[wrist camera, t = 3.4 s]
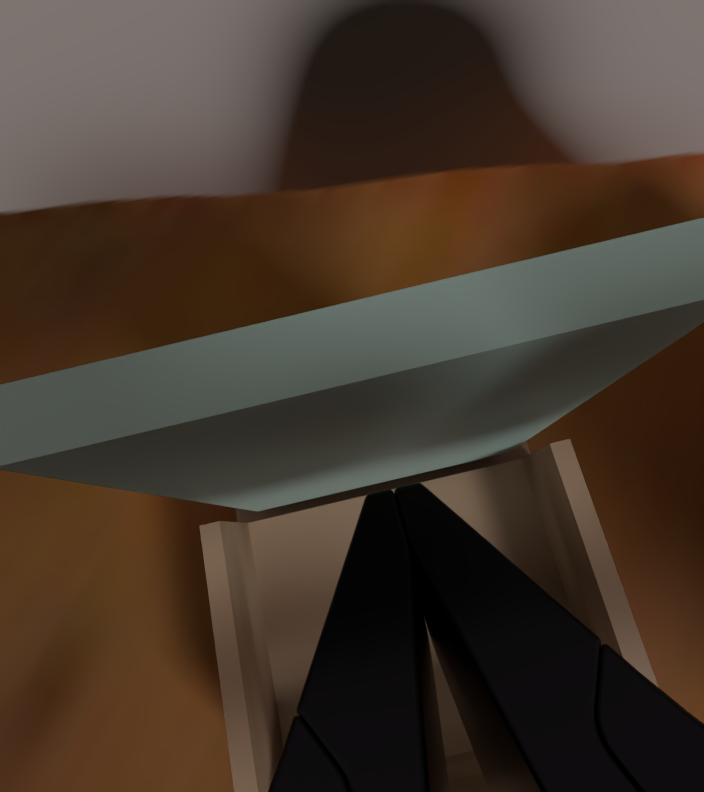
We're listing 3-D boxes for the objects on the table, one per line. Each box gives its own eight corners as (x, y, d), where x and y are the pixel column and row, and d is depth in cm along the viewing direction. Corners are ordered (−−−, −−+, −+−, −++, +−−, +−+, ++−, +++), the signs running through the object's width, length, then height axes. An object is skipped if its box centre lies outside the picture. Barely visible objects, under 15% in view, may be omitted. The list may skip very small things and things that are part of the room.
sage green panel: (504, 455, 18) (757, 287, 6) (261, 512, 18) (-11, 468, 6) (492, 415, 18) (702, 180, 6) (254, 471, 18) (-11, 349, 6)
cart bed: (605, 713, 17) (694, 787, 12) (287, 787, 17) (247, 890, 12) (509, 418, 19) (549, 380, 15) (239, 481, 20) (191, 465, 15)
